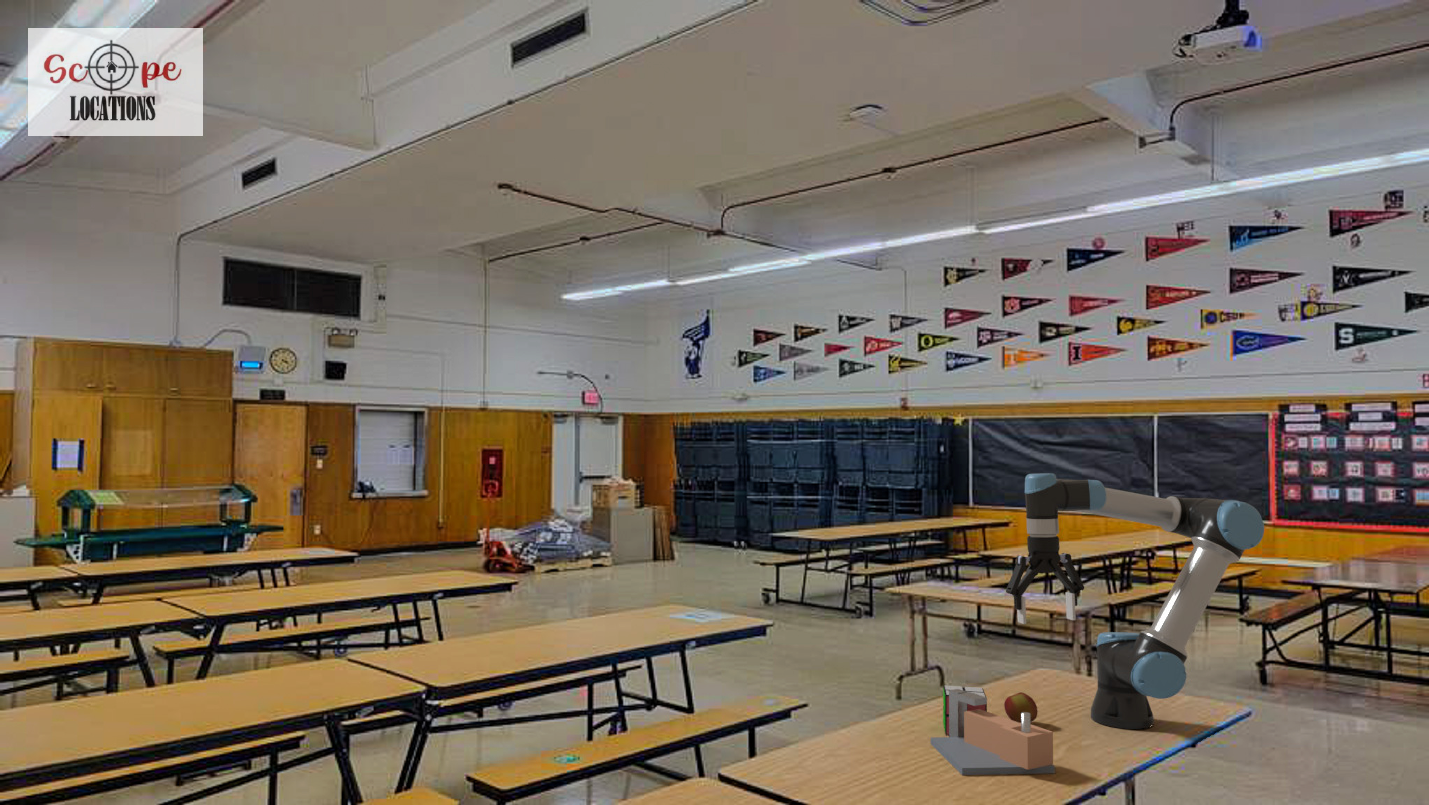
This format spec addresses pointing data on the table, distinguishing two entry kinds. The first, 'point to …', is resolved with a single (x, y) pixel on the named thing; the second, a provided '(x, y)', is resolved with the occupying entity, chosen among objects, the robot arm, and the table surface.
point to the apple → (1020, 706)
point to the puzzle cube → (969, 707)
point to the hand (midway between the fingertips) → (1046, 621)
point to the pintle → (1025, 722)
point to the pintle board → (978, 759)
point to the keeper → (961, 709)
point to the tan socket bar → (1008, 739)
